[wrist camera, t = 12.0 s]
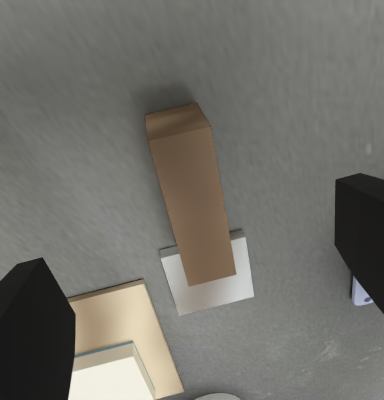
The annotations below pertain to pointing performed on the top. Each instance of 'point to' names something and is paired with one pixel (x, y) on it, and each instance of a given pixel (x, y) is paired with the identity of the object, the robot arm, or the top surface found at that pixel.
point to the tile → (111, 375)
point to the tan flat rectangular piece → (126, 330)
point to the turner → (196, 213)
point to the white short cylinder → (218, 397)
